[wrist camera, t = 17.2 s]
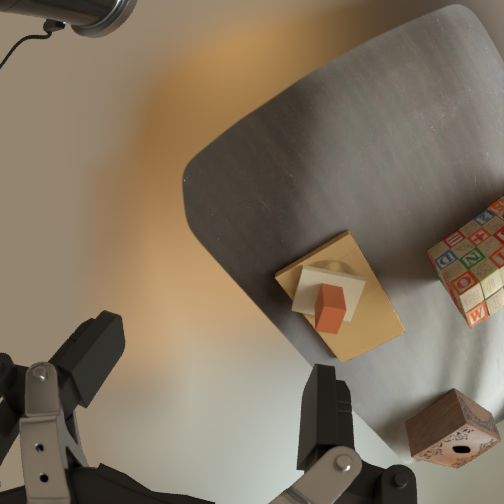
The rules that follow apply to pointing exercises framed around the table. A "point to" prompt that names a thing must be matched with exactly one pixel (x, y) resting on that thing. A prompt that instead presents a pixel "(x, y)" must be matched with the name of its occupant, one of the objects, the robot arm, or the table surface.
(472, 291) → the stack of blocks
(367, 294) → the base pad
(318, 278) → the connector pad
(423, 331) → the table surface
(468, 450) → the tissue box cover
